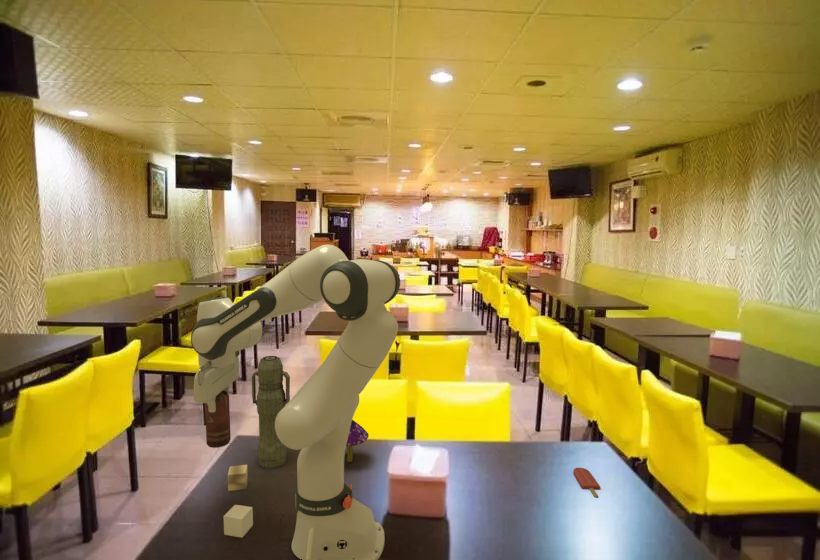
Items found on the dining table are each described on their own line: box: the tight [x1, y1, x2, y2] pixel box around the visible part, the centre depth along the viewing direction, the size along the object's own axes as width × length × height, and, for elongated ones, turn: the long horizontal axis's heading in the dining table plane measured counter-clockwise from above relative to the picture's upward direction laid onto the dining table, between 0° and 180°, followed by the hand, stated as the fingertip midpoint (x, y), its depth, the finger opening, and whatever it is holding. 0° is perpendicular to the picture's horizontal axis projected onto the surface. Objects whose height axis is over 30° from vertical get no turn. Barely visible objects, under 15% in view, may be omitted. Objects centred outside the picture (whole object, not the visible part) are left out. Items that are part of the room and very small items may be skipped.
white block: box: [223, 504, 254, 538], centre depth 118 cm, size 5×5×5 cm
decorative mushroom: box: [346, 418, 370, 463], centre depth 152 cm, size 12×12×15 cm
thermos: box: [251, 355, 291, 470], centre depth 150 cm, size 9×12×35 cm
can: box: [204, 391, 231, 449], centre depth 126 cm, size 6×6×14 cm
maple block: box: [227, 464, 249, 492], centre depth 138 cm, size 5×5×5 cm
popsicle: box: [572, 467, 601, 498], centre depth 141 cm, size 5×2×15 cm
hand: (218, 406), depth 126 cm, fingers closed on can, 5 cm apart
